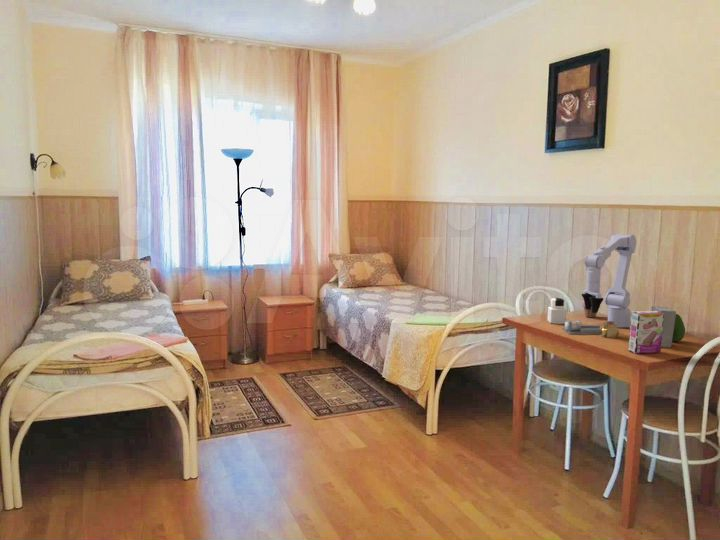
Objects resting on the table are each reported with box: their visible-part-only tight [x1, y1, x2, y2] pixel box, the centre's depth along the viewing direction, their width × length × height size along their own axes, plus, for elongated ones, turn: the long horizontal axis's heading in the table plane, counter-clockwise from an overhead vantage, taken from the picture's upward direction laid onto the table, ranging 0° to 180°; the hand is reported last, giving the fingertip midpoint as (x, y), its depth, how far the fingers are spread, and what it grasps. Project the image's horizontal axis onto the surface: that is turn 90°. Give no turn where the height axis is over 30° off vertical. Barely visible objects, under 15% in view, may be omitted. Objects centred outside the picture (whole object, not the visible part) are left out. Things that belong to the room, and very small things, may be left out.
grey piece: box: [561, 318, 602, 335], centre depth 250 cm, size 17×10×5 cm, turn 90°
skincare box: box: [650, 305, 677, 348], centre depth 227 cm, size 8×7×16 cm
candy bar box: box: [628, 310, 664, 355], centre depth 216 cm, size 11×5×16 cm, turn 99°
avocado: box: [672, 313, 686, 343], centre depth 233 cm, size 8×8×12 cm
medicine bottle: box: [546, 297, 567, 325], centre depth 268 cm, size 7×7×12 cm
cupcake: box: [581, 299, 597, 318], centre depth 281 cm, size 9×9×10 cm
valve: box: [600, 320, 620, 339], centre depth 241 cm, size 7×4×7 cm, turn 90°
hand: (591, 311), depth 248 cm, fingers open, 7 cm apart
